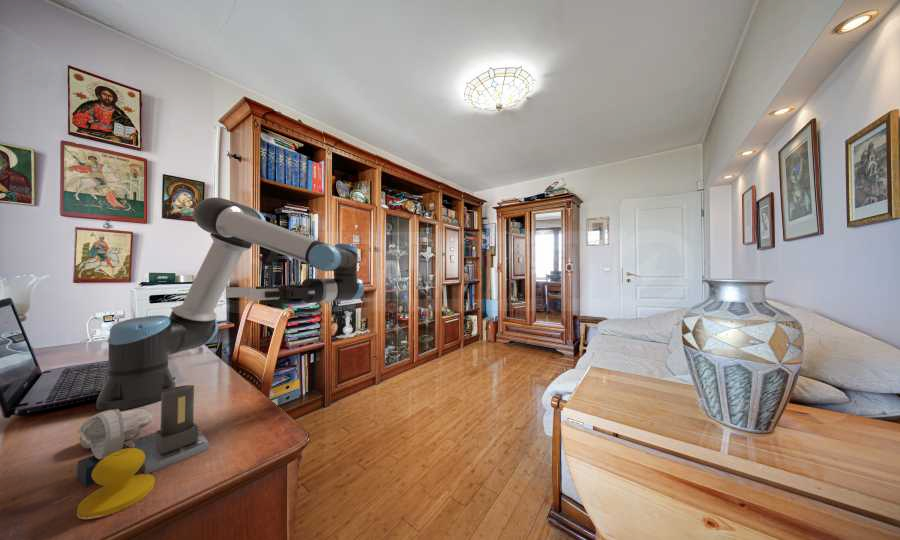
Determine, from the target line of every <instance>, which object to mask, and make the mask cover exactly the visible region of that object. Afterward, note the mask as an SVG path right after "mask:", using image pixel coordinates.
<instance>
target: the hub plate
mask: <svg viewBox="0 0 900 540" xmlns="http://www.w3.org/2000/svg"><path fill="white" fill-rule="evenodd" d="M131 448H138V449H140V450H142V451H143V452H144V453H145V460H144V463H143V464H142V466H141V467H140V468H141V469H142V471H143V473H144V474H149V475H150V474H151V473H154V472H156V471H158V470H161V469H164V468H165V467H168V466H170V465H173V464H176V463H178V462H180V461H183V460H185V459H188V458H190V457H193V456H194V455H195V456H196V455H197V454H200V453H203V452H205V451H207V450H210V441H209V440H208V439H207V438H206V437H205V436H204V434H203V433H201V431H200V430H199V429H198V441H196V442H194V443H191V444H188V445H186V446H183V447H180V448H178V449H175V450H173V451H170V452H167V453H165V454H161V452H160V451H159V449H158V448H157V446H156V431H155V432H152V433H150V434H147V435H143V436H140V437H137V438H133V439H131Z"/></svg>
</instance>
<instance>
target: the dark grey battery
mask: <svg viewBox="0 0 900 540" xmlns="http://www.w3.org/2000/svg"><path fill="white" fill-rule="evenodd" d="M194 405H195V385H193V384H191V385H190V384H188V385H187V384H186V385H179V386H176V387H174V388H171V389H168V390H165V391H163V392H162V393H161V400H160V407H161V408H160V429H158V430H156V431H155V432H156V446H157V448H158V449H159V451H160V452H161V454H165V453H167V452H170V451H173V450H175V449H178V448H180V447H183V446H186V445H188V444H191V443H194V442H196V441H198V430H199V426H198V425H197V424H196V423H195V422H194V412H195V411H194V410H195V409H194V408H195V406H194Z"/></svg>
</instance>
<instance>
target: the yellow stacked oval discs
mask: <svg viewBox="0 0 900 540" xmlns="http://www.w3.org/2000/svg"><path fill="white" fill-rule="evenodd" d="M144 460H145V453H144V452H143V451H142V450H140V449H138V448H132V447H130V448H127V449H123V450H119V451H116V452H114V453H112V454H110V455H108V456H106V457H105V458H103V459H102V460H101V461H100V462H99V463H98V464H97V465H96V466H95V468H94V469H93V471H92V474H91V476H92V479H93V480H94V481H95V482H96V483H95V484H98V485H99V486H102V487H100V488H98V489H96V490H95V491H93V492H92V493H90V494H89V495H88V496H86V497H84V499H82V500H81V501H80V502H79V504H78V506H77V509H76V515H77V514H78V516H80V517H86V518H88V517H93V516H99V515H100V516H101V515H106V514H111V515H113V514H112V513H114V514H116V513H118V511H119V512H121V511H123V510H125V509H127V508H129V507H131V506H133V505H135V504H136V503H138V502H140V501H141V500H143V498H144V499H145V497H146V496H147V495H148V494H149V493H151V492H152V491H153V489H154V487H155V483H156V480H155V479H156V478H155V476H154V475H152V474H150V473H149V474H145V473H144V474H143V473H142V474H141V473H140V474H136V473H137V472H138V471H139V470H140V468H142V467H141V466H142V464H143V463H144ZM128 506H129V507H128ZM124 508H125V509H124ZM122 509H123V510H122ZM120 510H121V511H120ZM115 512H116V513H115Z"/></svg>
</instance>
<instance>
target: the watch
mask: <svg viewBox="0 0 900 540" xmlns="http://www.w3.org/2000/svg"><path fill="white" fill-rule="evenodd" d="M121 412H122V411H121V410H119V409H116V410H108V411H100V412H98V413H96V414H94V415H92V416H91V417H89V418H87V419H85V421H84V422H83V423H82V424H81V426H80V427H79V428H77V431H76V433H77V434H82V433H83V435H84V436H85V438H86V440H87V441H90V445H91V448H90V449H91V452H92V454H93V455H90V456H87V457H86V458H83V459H81V460H78V461H77V470H76V472H77V473H76V479H77V481H79V482H80V483H81V484H82V485H83V486H84V487H88V486H91V485H93V484H97V483H96V482H95V481H94V480H93V479H92V476H91V474H92V471H93V469H94V468H95V466H96V465H97V464H98V463H99V462H100V461H101V460H102V459H103V458H105V457H106V456H108V455H110V454H112V453H114V452H116V451H119V450H123V449H127V448H131V447H130V446H129V445H127V444H125V443H124V442H125V441H124V438H125V435H124V425H123V419H122V418H123V417H122V413H121ZM104 440H105V441H104ZM101 441H102V442H101Z"/></svg>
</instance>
